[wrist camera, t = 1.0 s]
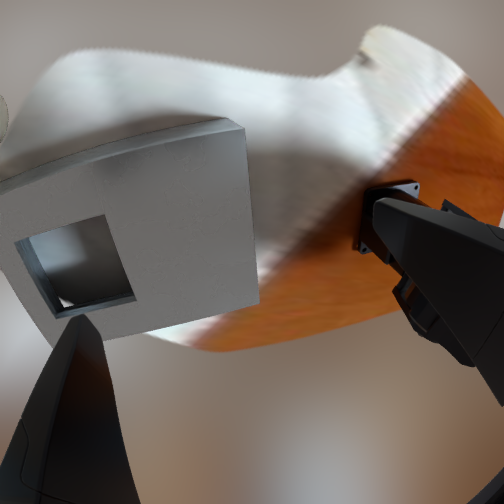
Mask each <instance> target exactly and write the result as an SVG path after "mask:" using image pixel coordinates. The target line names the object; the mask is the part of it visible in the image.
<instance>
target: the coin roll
mask: <svg viewBox="0 0 504 504" xmlns="http://www.w3.org/2000/svg"><path fill="white" fill-rule="evenodd" d="M7 126H8V109H7V105H6V103H5V101H4V99H3V98H2V96H1V95H0V143H1V141H2V140H3V138H4V136H5V133H6V130H7Z"/></svg>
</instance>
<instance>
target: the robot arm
mask: <svg viewBox="0 0 504 504" xmlns="http://www.w3.org/2000/svg"><path fill="white" fill-rule="evenodd" d="M419 188H420V184H419V183H418V182H416V181H410V182H404V183H397V184H391V185H385V186H379V187H373V188H368V189H367V190H366V191H365V194H364V203H363V212H362V221H361V229H360V236H359V244H358V251H359V252H360V253H361V254H366V253H370V252H373V253H374V254H375V255H377V256H378V257H379V258H380V259H381V260H382V261H383V262H384V263H385V264H386V265H388V264H389V265H390V266H391V267H392V268H393V269H395V270H396V271H397V272H398V273H399V274H400V275H401V276H402V278H401V280H400V281H399V283H398V284H397V286H395V287H394V289H393V290H392V293H393V294H394V296H395V298H396V300H397V302H398V303H399V305H400V307H401V308H402V310H403V312H404V313H405V315H406V317H407V319H408V320H409V322H410V324H411V326H412V327H413V329H414V330H415V331H416V332H417V333H418V335H419V336H421V337H424V338H426V339H427V340H429V341H431V342H433V343H439V344H440V345H441V346H443V347H444V348H445V349H446V350H447V351H448V352H450V354H452V356H453V357H455V358H456V360H457V361H458V362H459V363H460V364H462V365H466V366H469V367H475V366H476V367H477V369H478V370H479V372H480V374H481V375H482V377H483V378H484V380H485V381H486V383H487V384H488V386H489V388H490V389H491V391H492V393H493V394H494V396H495V398H496V399H497V401H498V403H499V404H500V405H501V406H502V407H503V406H504V229H503V228H500V227H496V226H493V225H490V224H485V223H483V222H480V221H477V220H476V219H475V218H473V217H472V216H470V215H469V214H467V213H466V212H464V211H463V210H461V209H460V208H458V207H457V206H455V205H454V204H452V203H450V202H449V201H447V200H446V199H444V201H443V203H442V205H443V206H442V208H441V210H436V209H432V208H431V207H429V206H428V205H426V204H425V203H423V202H422V201H420V200H419V199H418V194H419ZM370 194H371V195H370ZM363 248H364V249H363ZM21 418H22V419H20V420H19V422H18V426H17V427H16V430H15V432H14V435H13V437H12V440H11V442H10V445H9V447H8V449H7V451H6V454H5V456H4V459H3V461H2V463H1V465H0V504H141V503H140V500H139V497H138V493H137V490H136V487H135V484H134V480H133V477H132V473H131V469H130V466H129V462H128V458H127V454H126V450H125V446H124V442H123V437H122V433H121V428H120V423H119V418H118V412H117V407H116V401H115V395H114V390H113V385H112V380H111V376H110V372H109V368H108V364H107V359H106V355H105V350H104V346H103V341H102V337H101V335H100V333H99V331H98V330H97V328H96V327H95V326H94V325H93V323H92V322H91V321H90V320H89V318H88V317H87V316H86V315H85V314H79V315H76V316H74V317H72V318H71V319H70V320H69V322H68V324H67V326H66V327H65V329H64V331H63V333H62V334H61V336H60V338H59V340H58V342H57V343H56V345H55V347H54V349H53V351H52V353H51V355H50V357H49V358H48V361H47V362H46V364H45V366H44V368H43V370H42V372H41V374H40V376H39V378H38V380H37V382H36V384H35V387H34V389H33V391H32V393H31V395H30V397H29V400H28V402H27V404H26V406H25V408H24V411H23V413H22V415H21ZM467 504H504V467H503V469H502V470H501V471H500V472H499V473H498V474H497V475H496V476H495V477H494V478H493V479H492V480H491V482H489V483H488V484H487V485H486V486H485V487H484V488H483V489H482V490H481V491H480V492H479V493H478V494H477V495H476V496H475V497H474V498H473V499H471V500H470V501H469V502H468V503H467Z"/></svg>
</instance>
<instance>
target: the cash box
mask: <svg viewBox="0 0 504 504" xmlns="http://www.w3.org/2000/svg"><path fill="white" fill-rule="evenodd" d="M103 214H105V217H106V220H107V223H108V226H109V229H110V232H111V235H112V238H113V240H114V243H115V246H116V249H117V251H118V254H119V257H120V259H121V262H122V265H123V267H124V270H125V272H126V275H127V277H128V280H129V282H130V285H131V287H132V290H133V291H132V292H128V293H124V294H120V295H116V296H111V297H107V298H103V299H99V300H94V301H90V302H86V303H82V304H77V305H73V306H69V307H65V308H64V307H63V305H62V303H61V301H60V300H59V298H58V296H57V294H56V293H55V291H54V289H53V287H52V285H51V283H50V282H49V280H48V278H47V276H46V274H45V272H44V270H43V268H42V266H41V264H40V262H39V260H38V258H37V256H36V254H35V252H34V250H33V247H32V245H31V243H30V241H29V239H28V237H31V236H34V235H37V234H40V233H43V232H46V231H49V230H52V229H56V228H59V227H62V226H65V225H68V224H72V223H75V222H78V221H82V220H85V219H89V218H92V217H96V216H99V215H103ZM0 267H1V269H2V270H3V272H4V274H5V276H6V278H7V279H8V281H9V283H10V285H11V286H12V288H13V290H14V291H15V293H16V295H17V297H18V298H19V300H20V301H21V303H22V305H23V306H24V308H25V309H26V310H27V312H28V314H29V315H30V317H31V318H32V320H33V321H34V323H35V324H36V326H37V327H38V329H39V330H40V331H41V333H42V334H43V336H44V337H45V338H46V340H47V341H48V343H49V344H50V345H51V347H52V348H53V349H54V347H55V345H56V343H57V342H58V340H59V338H60V336H61V334H62V333H63V331H64V329H65V327H66V326H67V324H68V322H69V320H70V319H71V318H72V317H74V316H76V315H79V314H85V315H86V316H87V317H88V318H89V320H90V321H91V322H92V323H93V325H94V326H95V327H96V328H97V330H98V331H99V333H100V335H101V337H102V341H106V340H111V339H115V338H120V337H125V336H129V335H134V334H138V333H143V332H148V331H152V330H157V329H161V328H165V327H170V326H174V325H178V324H182V323H186V322H190V321H194V320H198V319H202V318H206V317H210V316H214V315H218V314H222V313H226V312H230V311H234V310H237V309H241V308H245V307H248V306H252V305H256V304H259V303H260V300H259V288H258V277H257V265H256V253H255V242H254V230H253V219H252V207H251V196H250V184H249V173H248V162H247V150H246V139H245V128H243V127H241V126H240V125H238V124H236V123H235V122H233V121H231V120H230V119H228V118H223V119H216V120H210V121H204V122H199V123H193V124H188V125H183V126H177V127H173V128H168V129H163V130H159V131H154V132H150V133H146V134H142V135H138V136H134V137H130V138H126V139H122V140H118V141H115V142H111V143H108V144H104V145H101V146H97V147H94V148H91V149H88V150H84V151H81V152H78V153H75V154H72V155H69V156H66V157H63V158H60V159H58V160H55V161H52V162H49V163H47V164H44V165H41V166H39V167H36V168H34V169H31V170H29V171H26V172H24V173H21V174H19V175H16V176H14V177H12V178H9V179H7V180H5V181H3V182H0Z"/></svg>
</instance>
